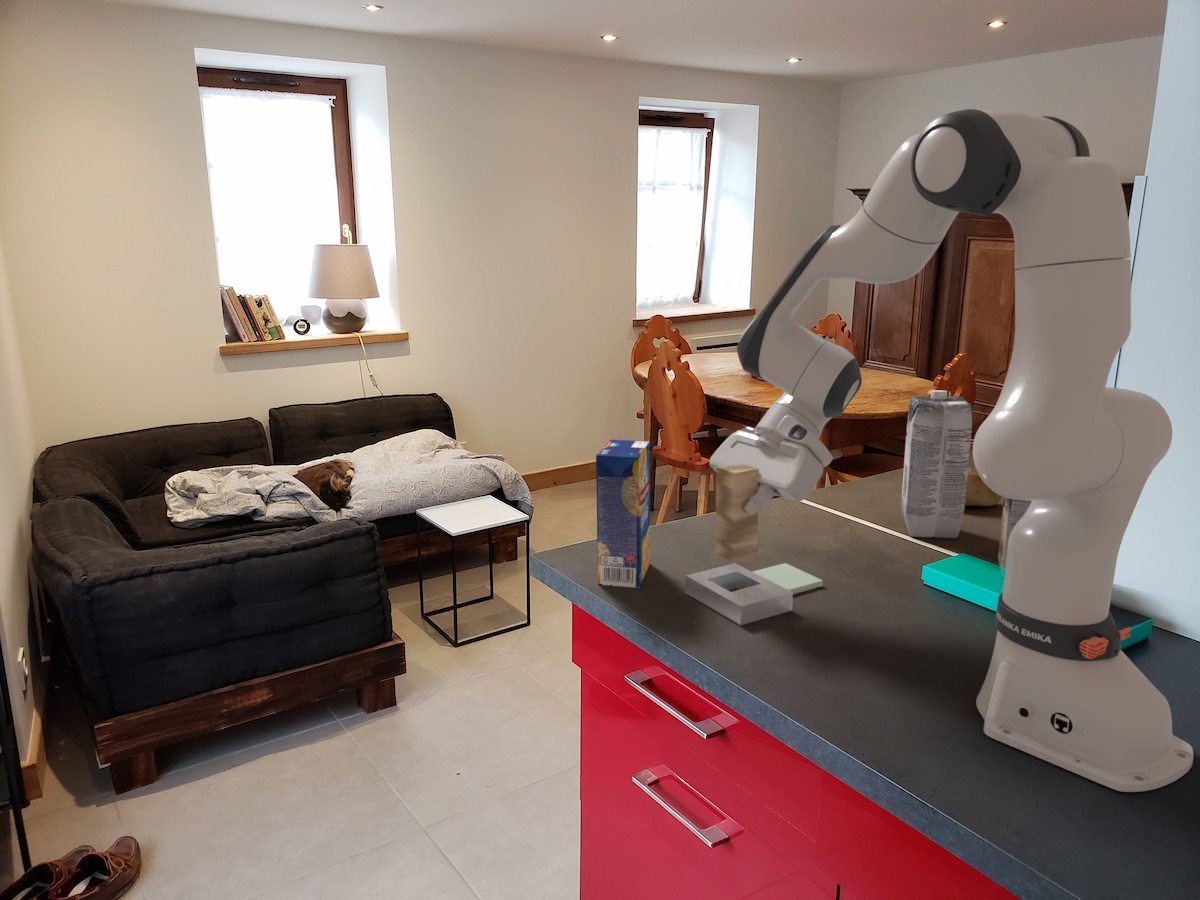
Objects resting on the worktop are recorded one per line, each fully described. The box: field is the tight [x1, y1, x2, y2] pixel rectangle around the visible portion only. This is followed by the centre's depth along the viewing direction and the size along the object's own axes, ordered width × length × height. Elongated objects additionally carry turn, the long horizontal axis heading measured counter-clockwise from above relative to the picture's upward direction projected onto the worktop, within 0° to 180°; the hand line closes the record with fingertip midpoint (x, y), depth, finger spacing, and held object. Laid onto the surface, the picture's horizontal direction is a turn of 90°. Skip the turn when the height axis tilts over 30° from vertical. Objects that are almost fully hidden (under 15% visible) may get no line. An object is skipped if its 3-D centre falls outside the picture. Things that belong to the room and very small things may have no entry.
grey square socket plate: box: [684, 562, 794, 626], centre depth 139 cm, size 14×10×3 cm
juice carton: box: [900, 389, 973, 539], centre depth 166 cm, size 9×10×27 cm
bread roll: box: [965, 467, 1002, 507], centre depth 184 cm, size 10×15×8 cm, turn 79°
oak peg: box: [715, 463, 759, 563], centre depth 137 cm, size 4×4×14 cm
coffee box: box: [997, 497, 1032, 568], centre depth 148 cm, size 9×6×16 cm
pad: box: [752, 562, 824, 595], centre depth 146 cm, size 9×9×1 cm
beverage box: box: [595, 439, 651, 588], centre depth 148 cm, size 7×11×22 cm, turn 167°
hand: (733, 507), depth 136 cm, fingers closed on oak peg, 4 cm apart
